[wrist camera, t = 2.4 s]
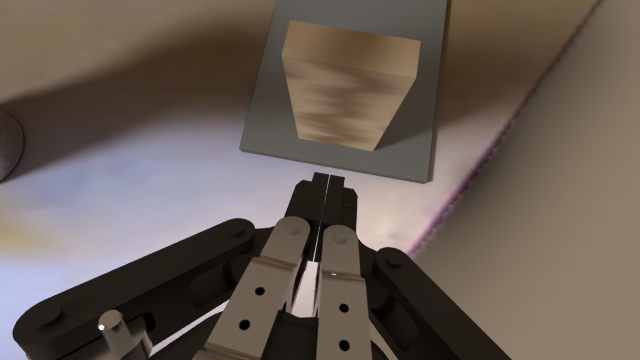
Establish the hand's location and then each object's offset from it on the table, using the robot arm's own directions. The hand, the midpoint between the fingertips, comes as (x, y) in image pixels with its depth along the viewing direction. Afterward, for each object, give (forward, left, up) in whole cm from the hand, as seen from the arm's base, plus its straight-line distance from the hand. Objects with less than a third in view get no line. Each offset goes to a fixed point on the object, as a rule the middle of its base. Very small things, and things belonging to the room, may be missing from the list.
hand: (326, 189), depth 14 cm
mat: (0, +18, -16) cm, 24 cm away
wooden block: (0, +9, -15) cm, 17 cm away
